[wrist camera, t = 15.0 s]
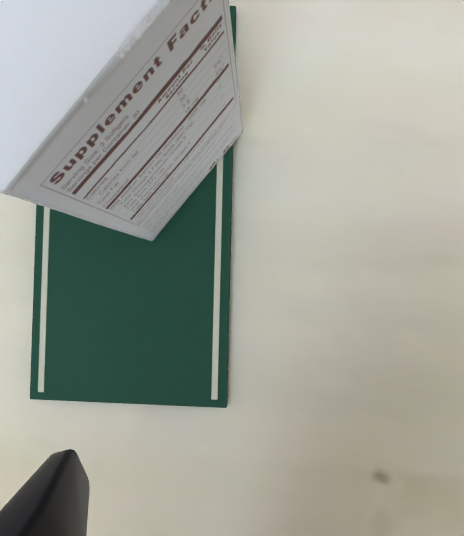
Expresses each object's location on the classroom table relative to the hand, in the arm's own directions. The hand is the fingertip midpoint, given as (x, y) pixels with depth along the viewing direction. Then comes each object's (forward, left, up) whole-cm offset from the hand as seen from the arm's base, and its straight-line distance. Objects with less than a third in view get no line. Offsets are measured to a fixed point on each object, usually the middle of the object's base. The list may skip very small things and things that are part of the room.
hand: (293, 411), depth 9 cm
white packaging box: (+9, +7, -12) cm, 17 cm away
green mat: (+6, +7, -12) cm, 16 cm away
